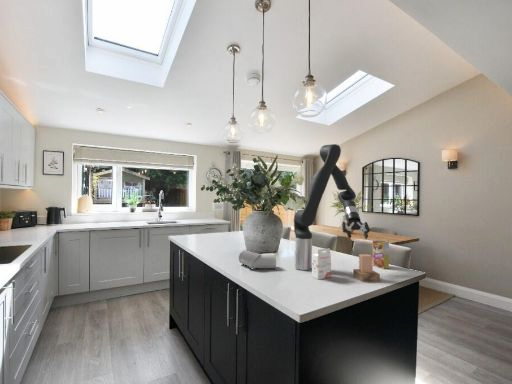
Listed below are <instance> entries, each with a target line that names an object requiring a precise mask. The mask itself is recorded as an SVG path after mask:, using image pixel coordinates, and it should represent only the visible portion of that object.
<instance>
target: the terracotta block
mask: <svg viewBox="0 0 512 384" xmlns="http://www.w3.org/2000/svg"><path fill="white" fill-rule="evenodd" d="M373 267H374V265H373V255H371V254H370V253H359V254H358V269H359V270H360V271H361V272H363V273H373V271H374V269H373Z"/></svg>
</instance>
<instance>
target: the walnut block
mask: <svg viewBox="0 0 512 384" xmlns="http://www.w3.org/2000/svg"><path fill="white" fill-rule="evenodd" d="M352 270H353V271H352V272H353V273H352V276H353V277H354V278H356V279H357V280H358V281H360V282H362V283H364V282H368V283H370V282H373V283H376V282H380V280H381V279H380V278H381V274H380V273H378V272H377V271H375V270H373V273H363V272H361V271H360V270H359V268H354V269H352Z"/></svg>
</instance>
